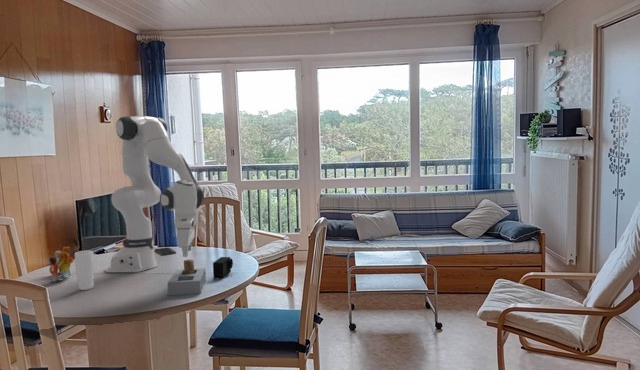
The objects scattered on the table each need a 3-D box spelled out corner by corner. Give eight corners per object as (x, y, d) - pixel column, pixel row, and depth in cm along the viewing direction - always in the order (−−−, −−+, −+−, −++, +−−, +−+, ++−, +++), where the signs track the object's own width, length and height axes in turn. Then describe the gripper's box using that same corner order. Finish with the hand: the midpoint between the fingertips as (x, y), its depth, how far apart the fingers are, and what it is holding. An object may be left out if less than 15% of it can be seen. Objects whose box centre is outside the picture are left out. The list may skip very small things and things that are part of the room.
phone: (168, 247, 251) (176, 252, 239) (168, 249, 251) (176, 254, 239) (153, 249, 246) (161, 254, 234) (154, 251, 246) (161, 256, 234)
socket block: (168, 295, 170) (167, 282, 169) (176, 281, 188) (176, 269, 187) (200, 293, 171) (199, 280, 171) (205, 279, 189) (205, 268, 189)
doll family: (57, 272, 206) (55, 244, 205) (80, 270, 209) (78, 242, 208) (48, 285, 186) (46, 254, 185) (74, 282, 190) (72, 252, 189)
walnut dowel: (183, 281, 181) (182, 262, 181) (185, 278, 185) (184, 259, 185) (193, 281, 182) (193, 261, 181) (195, 278, 186) (194, 259, 185)
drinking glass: (83, 292, 176) (80, 254, 175) (73, 289, 180) (70, 253, 178) (99, 287, 182) (96, 251, 181) (89, 285, 185) (87, 249, 184)
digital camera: (225, 278, 190) (225, 262, 190) (213, 278, 191) (212, 262, 190) (233, 272, 201) (232, 256, 200) (221, 271, 201) (221, 256, 201)
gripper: (182, 216, 192) (183, 247, 193) (173, 224, 171) (174, 260, 173) (197, 215, 192) (198, 247, 194) (190, 224, 172) (191, 259, 174)
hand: (187, 253), depth 183 cm, fingers open, 8 cm apart
